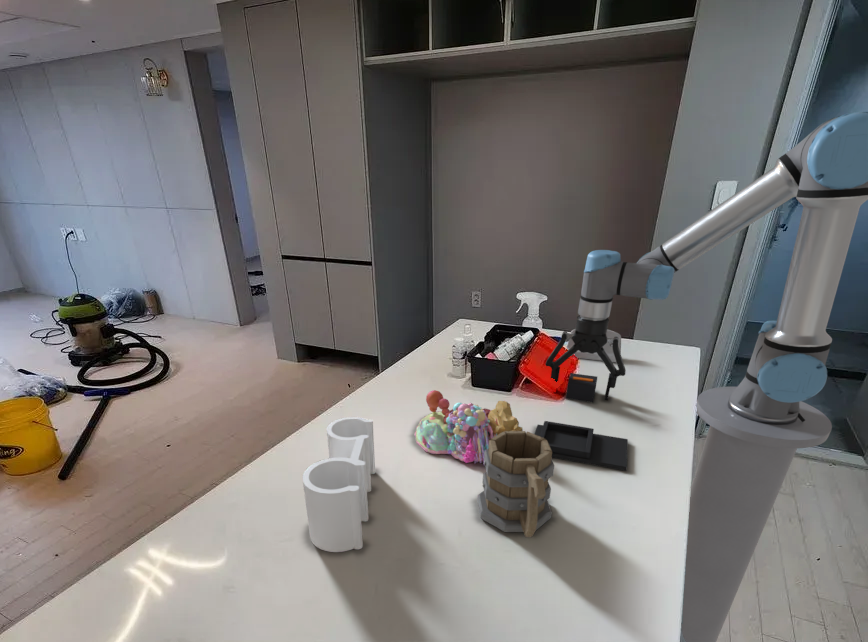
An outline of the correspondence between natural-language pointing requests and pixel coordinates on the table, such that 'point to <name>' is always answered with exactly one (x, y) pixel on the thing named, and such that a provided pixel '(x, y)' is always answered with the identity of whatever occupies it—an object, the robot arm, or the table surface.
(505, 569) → the table surface
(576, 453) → the base pad
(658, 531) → the table surface
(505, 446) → the tankard
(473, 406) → the candy landscape model
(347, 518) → the bracket
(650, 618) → the table surface
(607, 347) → the grey upright panel
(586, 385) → the black orange striped block
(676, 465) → the table surface
